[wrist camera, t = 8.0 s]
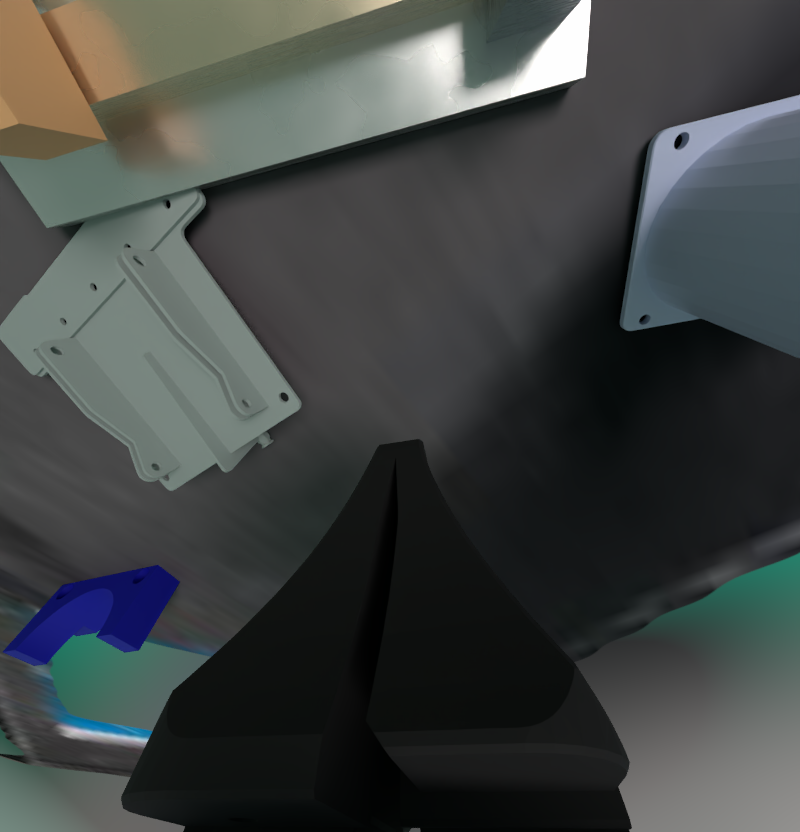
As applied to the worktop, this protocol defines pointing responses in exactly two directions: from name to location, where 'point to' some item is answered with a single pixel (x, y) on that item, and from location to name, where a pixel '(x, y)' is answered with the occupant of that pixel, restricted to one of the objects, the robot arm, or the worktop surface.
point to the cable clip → (97, 613)
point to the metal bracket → (151, 344)
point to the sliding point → (38, 91)
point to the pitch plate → (279, 84)
